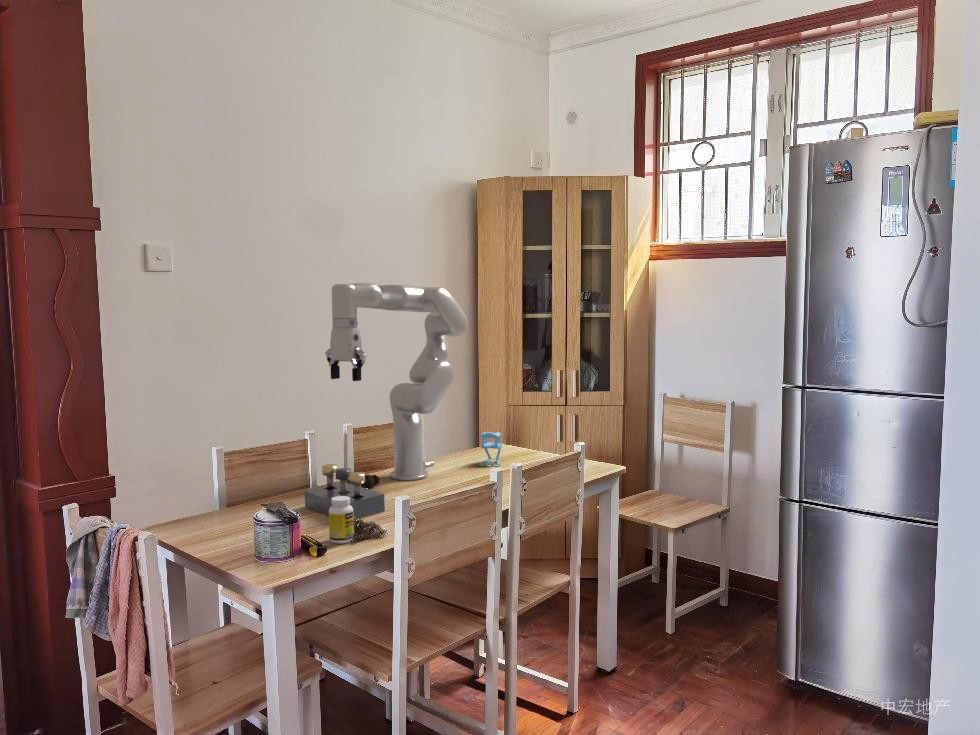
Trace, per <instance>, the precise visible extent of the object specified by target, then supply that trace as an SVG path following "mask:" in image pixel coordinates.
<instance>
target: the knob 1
mask: <svg viewBox="0 0 980 735" xmlns="http://www.w3.org/2000/svg"><path fill="white" fill-rule="evenodd" d="M321 469H322V470H321V471H322V472H321V473H322V474H321V475H322V476H324V477H325V476H326V486H327V490H332V489H334V484H335V481H334V480H335V470H336V469H338V464H335V463H333V464H330V463H329V464H324V465H322V466H321Z"/></svg>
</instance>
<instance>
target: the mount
mask: <svg viewBox="0 0 980 735" xmlns="http://www.w3.org/2000/svg"><path fill="white" fill-rule="evenodd" d="M336 496H348V497H350V504H349V505H350V506H352V507H353V517H356V518H357V519H360V518H363V517H368V516H371V515H375V514H380V513H383V512H385V494H384V493H381V492H379V491H376V490H372V489H366V488H362V487H361V498H359V499H354V485H353V484H349V483H347V494H343V495H342V494H340V482H339V483H334V489H332V490H327V485H326V486H325V485H324V486H322V487H321V486H320V487H316V488H313V489H312V488H311V489H308V490H304V508H305V509H307V508H308V510H310V511H313V512H315V511H316V513H318V514H321V515H323V514H324V515H323V516H326V517H329V509H330V507H331V506H332V503H331V499H332V498H333V497H336Z"/></svg>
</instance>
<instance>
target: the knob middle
mask: <svg viewBox="0 0 980 735" xmlns="http://www.w3.org/2000/svg"><path fill="white" fill-rule="evenodd" d="M350 473H352V470H351V468H348V467H342V468H341V467H340V468H337V469H336V470H335V475H334V477H335V480H339V483H340V494H342V495H343V494H347V479H349V474H350Z"/></svg>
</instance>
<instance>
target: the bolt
mask: <svg viewBox="0 0 980 735" xmlns="http://www.w3.org/2000/svg"><path fill="white" fill-rule="evenodd" d="M380 480H381V479H380V477H379V476H378V475H376V474H373V475H372V474H365V483H362V484H361V487H362V488H368V489H369V490H371V489H373V488H374V486H376V485H379V484H380V483H381V482H380ZM347 483H349V479H347ZM349 484H350V483H349ZM353 485H354V484H353ZM370 488H371V489H370Z"/></svg>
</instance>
